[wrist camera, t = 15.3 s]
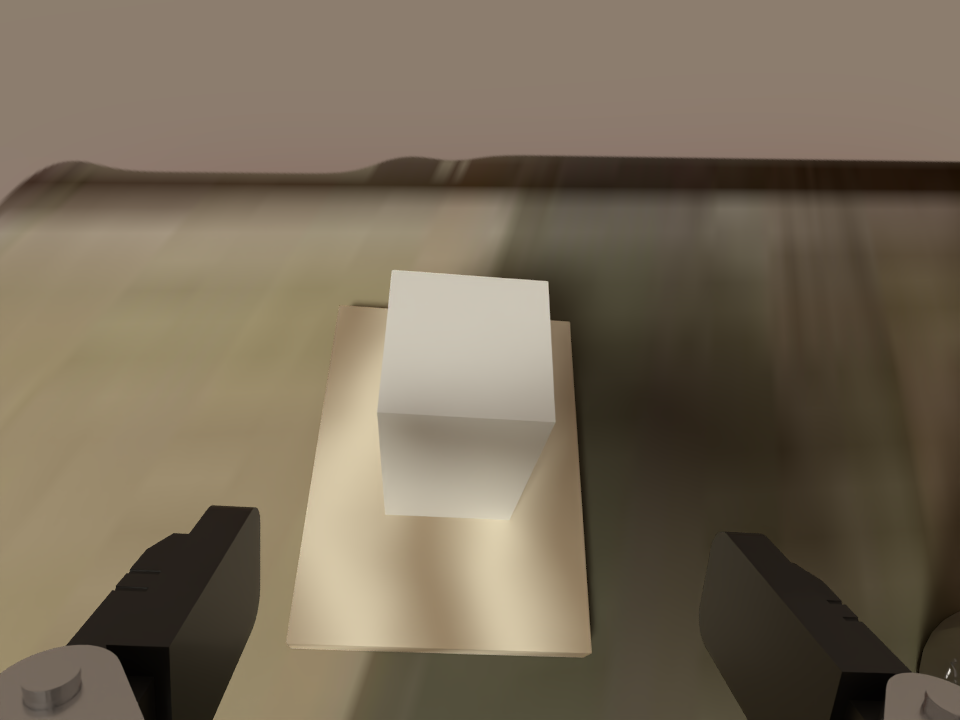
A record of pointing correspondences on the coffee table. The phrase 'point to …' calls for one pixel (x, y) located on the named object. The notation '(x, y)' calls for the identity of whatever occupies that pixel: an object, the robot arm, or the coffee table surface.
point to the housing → (463, 393)
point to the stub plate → (435, 535)
